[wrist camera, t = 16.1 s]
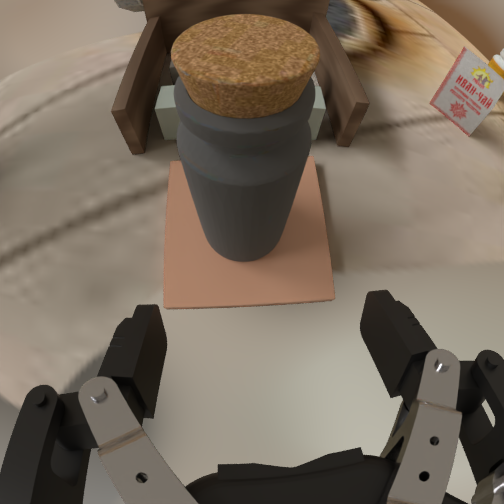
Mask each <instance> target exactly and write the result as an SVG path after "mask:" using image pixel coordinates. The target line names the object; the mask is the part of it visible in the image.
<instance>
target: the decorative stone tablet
mask: <svg viewBox="0 0 504 504" xmlns="http://www.w3.org/2000/svg"><path fill="white" fill-rule="evenodd" d="M114 1H115V2H116V4H117V5H118V7H119V8H122V9H126V10H130V11H133V12H139V11H145V10H144V6H143V1H142V0H114Z"/></svg>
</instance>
